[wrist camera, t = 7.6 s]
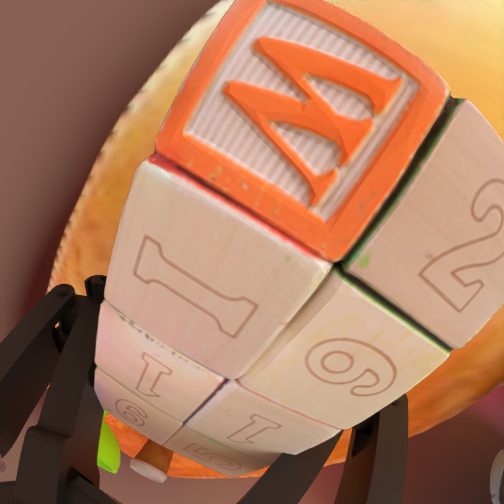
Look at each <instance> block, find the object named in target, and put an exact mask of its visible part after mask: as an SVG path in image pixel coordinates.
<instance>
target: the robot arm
mask: <svg viewBox="0 0 504 504" xmlns="http://www.w3.org/2000/svg"><path fill="white" fill-rule="evenodd" d="M106 279H107V276H104V275H94V276H91V277H89V278H87V279H86V280H85V281H84V282H85V288H86V293H87V296H83V295H77V294H75V290H74V288H73V286H71V285H69V284H60V285H57V286H55V287H54V288H53V289H52V290H51V291H50V292H48V293H47V294H46V295H45V296H44V297H43V298H42V300H40V301H39V302H38V303H37V305H35V306H34V307H33V308H32V309H31V310H30V312H29V313H28V314H27V315H26V316H25V317H24V318H23V319H22V320H21V321H20V322H19V323H18V324H17V325H16V327H15V328H14V329H13V330H12V331H11V332H10V333H9V334H8V335H7V337H6V338H5V339H4V340H3V341H2V342H1V343H0V472H4V471H5V469H6V466H5V463H4V461H2V458H3V457H4V456H5V455H6V454H7V452H8V451H9V450H10V449H11V447H12V446H13V444H14V443H15V441H16V439H17V438H18V436H19V434H20V432H21V430H22V428H23V427H24V425H25V423H26V421H27V420H28V418H29V416H30V414H31V412H32V411H33V409H34V408H35V406H36V404H37V403H38V401H39V400H40V398H41V396H42V395H43V393H44V391H45V390H46V388H47V387H48V385H49V384H50V385H49V388H48V391H47V394H46V397H45V401H44V404H43V407H42V410H41V414H40V418H39V421H38V424H37V425H36V426H31V427H29V428H28V429H27V432H26V434H25V438H24V442H23V446H22V451H21V455H20V461H19V466H18V472H17V478H16V481H7V482H0V504H122V503H120V502H119V501H117V500H116V499H114V498H112V497H111V496H109V495H108V494H106V493H105V492H103V491H102V490H100V489H99V483H100V475H99V469H98V466H97V456H98V448H99V440H100V433H101V426H102V420H103V414H104V409H103V408H102V406H101V404H100V401H99V399H98V397H97V395H96V392H95V390H94V376H95V369H96V367H97V365H96V363H95V361H94V358H95V348H96V336H97V328H98V317H99V312H100V304H101V303H102V301H103V299H104V291H105V285H106ZM57 323H59V326H58V327H56V328H55V325H56V324H57ZM351 428H352V433H351V438H350V443H349V448H348V453H347V457H346V462H345V466H344V470H343V474H342V478H341V482H340V485H339V489H338V493H337V496H336V499H335V503H334V504H402V497H403V490H404V482H405V473H406V461H407V446H408V445H407V443H408V399H407V396H406V394H403V395H402V396H400V397H399V398H398V399H396V400H395V401H393V402H392V403H390V404H388V405H387V406H385V407H384V408H382V409H381V410H379V411H378V412H376V413H375V414H373V415H372V416H370V417H369V418H367V419H365V420H364V421H362V422H360V423H359V424H357V425H355V426H353V427H351ZM343 431H344V430H341V431H340V432H339V433H337V434H336V435H335V436H333V437H332V438H330V439H328V440H326V441H325V442H323V443H321V444H319V445H317V446H314V447H312V448H309V449H307V450H305V451H303V452H301V453H299V454H297V455H293V454H288V453H282V454H281V455H280V456H279V457H278V458H277V460H276V461H275V462H274V463H273V464H272V465H271V466H270V467H269V468H268V469H267V471H266V472H265V473H264V474H263V475H262V476H261V478H260V479H259V480H258V481H257V482H256V483H255V485H253V487H252V488H251V489H250V490H249V491H248V492H247V493H246V494H245V495H244V496H243V497H242V498H241V499H240V500H239V502H237V504H298V502H299V501H300V500H301V498H302V497H303V495H304V494H305V493H306V491H307V490H308V488H309V487H310V486H311V484H312V483H313V481H314V480H315V478H316V477H317V475H318V473H319V472H320V470H321V469H322V467H323V466H324V464H325V462H326V461H327V459H328V457H329V456H330V454H331V452H332V451H333V449H334V447H335V445H336V444H337V442H338V440H339V438H340V436H341V434H342V433H343ZM490 492H491V494H492V502H493V504H504V449H502V450H501V451H500V452H499V453H498V455H497V456H496V458H495V460H494V462H493V465H492V469H491V477H490Z"/></svg>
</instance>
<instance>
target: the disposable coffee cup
mask: <svg viewBox="0 0 504 504" xmlns="http://www.w3.org/2000/svg"><path fill="white" fill-rule="evenodd" d="M173 453H174V451H172V450H170V449H168V448H166V447H164V446H162V445H160V444H158V443H156V442H154V441H153V440H151V439H149V440H148V441H147V442H146V444H145V445H144V446H143V448H142V449H141V450H140V451H139V453H138V454H137V455H136V457H135V458H134V459H132V460H131V461H130V462H131V464H130V467H131V468H132V469H134V470H135V471H136V472H138V473H139V474H141V475H143V476H145V477H147V478H149V479H152V480H154V481H157V482H160V483H163V482H164V480H167V472H168V469H169V466H170V462H171V459H172V456H173Z"/></svg>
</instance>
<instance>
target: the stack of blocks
mask: <svg viewBox="0 0 504 504" xmlns="http://www.w3.org/2000/svg"><path fill="white" fill-rule="evenodd" d="M503 304H504V142H503V141H502V139H501V138H500V136H499V135H498V134H497V132H496V131H495V130H494V129H493V127H492V126H491V125H490V123H489V122H488V121H487V120H486V118H485V117H484V116H483V115H482V114H481V113H480V111H479V110H478V109H477V108H476V107H475V106H474V105H473V104H472V103H471V102H470V101H469V100H468V99H462V98H453V97H452V96H451V89H450V87H449V85H448V84H447V83H446V82H445V81H444V79H443V78H442V77H441V76H440V75H439V74H438V73H437V72H436V71H435V70H434V69H433V68H432V67H431V66H430V65H429V64H428V63H427V62H425V61H424V60H423V59H422V58H420V57H419V56H418V55H416V54H415V53H413V52H412V51H411V50H409V49H408V48H406V47H405V46H404V45H402V44H401V43H399V42H398V41H396V40H395V39H393V38H392V37H390V36H389V35H387V34H386V33H384V32H383V31H381V30H379V29H378V28H376V27H374V26H373V25H371V24H369V23H368V22H366V21H364V20H362V19H361V18H359V17H357V16H355V15H353V14H351V13H349V12H347V11H345V10H343V9H341V8H339V7H337V6H335V5H333V4H331V3H328V2H326V1H324V0H235V1H234V2H233V4H232V5H231V6H230V8H229V9H228V11H227V12H226V13H225V15H224V16H223V18H222V19H221V21H220V22H219V24H218V25H217V27H216V28H215V30H214V31H213V33H212V35H211V36H210V38H209V39H208V41H207V43H206V44H205V46H204V47H203V49H202V51H201V52H200V54H199V56H198V58H197V59H196V61H195V63H194V64H193V66H192V67H191V69H190V71H189V72H188V74H187V76H186V77H185V79H184V81H183V83H182V84H181V86H180V89H179V91H178V93H177V95H176V97H175V99H174V101H173V103H172V105H171V107H170V109H169V111H168V114H167V116H166V118H165V120H164V122H163V124H162V126H161V129H160V131H159V133H158V135H157V138H156V140H155V153H154V154H152V155H150V156H149V157H147V158H146V159H144V160H143V161H142V162H141V163H140V165H139V166H138V167H137V168H136V171H135V174H134V177H133V180H132V184H131V187H130V190H129V193H128V196H127V199H126V202H125V205H124V208H123V211H122V214H121V219H120V223H119V227H118V231H117V235H116V238H115V242H114V246H113V250H112V254H111V258H110V263H109V268H108V273H107V279H106V285H105V291H104V299H103V301H102V303H101V304H100V312H99V317H98V328H97V336H96V348H95V358H94V361H95V363H96V365H97V367H96V369H95V376H94V390H95V392H96V395H97V397H98V399H99V401H100V404H101V406H102V408H103V409H104V410H105V411H106V412H108V413H109V414H111V415H112V416H114V417H115V418H117V419H118V420H120V421H121V422H123V423H125V424H126V425H128V426H129V427H131V428H133V429H134V430H136V431H137V432H139V433H141V434H142V435H144V436H146V437H147V438H149V439H151V440H153V441H154V442H156V443H158V444H160V445H162V446H164V447H166V448H168V449H170V450H172V451H174V452H176V453H178V454H180V455H182V456H184V457H186V458H188V459H190V460H192V461H194V462H196V463H199V464H201V465H203V466H205V467H207V468H210V469H212V470H215V471H217V472H219V473H222V474H225V475H227V476H230V477H236V476H240V475H244V474H247V473H250V472H253V471H256V470H259V469H262V468H265V467H267V466H270V465H272V464H273V463H274V462H275V461H276V460H277V458H278V457H279V456H280V455H281V454H282V453H288V454H293V455H297V454H299V453H301V452H303V451H305V450H307V449H309V448H312V447H314V446H317V445H319V444H321V443H323V442H325V441H326V440H328V439H330V438H332V437H333V436H335V435H336V434H337V433H339V432H340V431H341V430H344V429H348V428H351V427H353V426H355V425H357V424H359V423H360V422H362V421H364V420H365V419H367V418H369V417H370V416H372V415H373V414H375V413H376V412H378V411H379V410H381V409H382V408H384V407H385V406H387V405H388V404H390V403H392V402H393V401H395V400H396V399H398V398H399V397H400V396H402V395H403V394H405V393H406V392H407V391H409V390H410V389H411V388H413V387H414V386H415V385H417V384H418V383H419V382H421V381H422V380H423V379H424V378H426V377H427V376H428V375H429V374H430V373H432V372H433V371H434V370H435V369H436V368H437V367H439V366H440V365H441V364H442V363H443V362H444V361H445V360H446V359H447V358H448V357H449V355H450V352H451V350H453V349H459V348H461V347H463V346H464V345H465V344H467V343H468V342H469V341H470V340H471V339H472V338H473V337H474V336H475V335H476V334H477V333H478V332H479V331H480V330H481V329H482V328H483V327H484V326H485V325H486V324H487V323H488V321H489V320H490V319H491V318H492V317H493V316H494V315H495V313H496V312H497V311H498V310H499V309H500V307H501V306H502V305H503Z"/></svg>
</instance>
